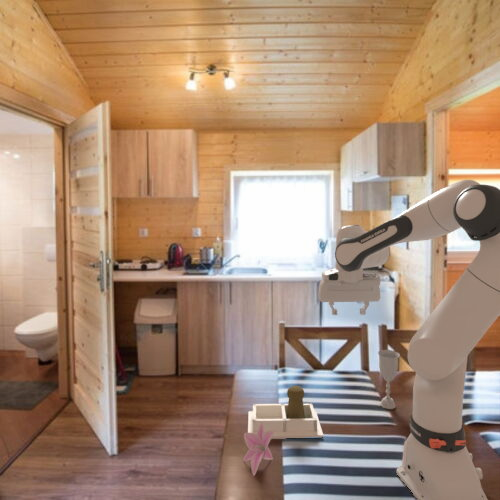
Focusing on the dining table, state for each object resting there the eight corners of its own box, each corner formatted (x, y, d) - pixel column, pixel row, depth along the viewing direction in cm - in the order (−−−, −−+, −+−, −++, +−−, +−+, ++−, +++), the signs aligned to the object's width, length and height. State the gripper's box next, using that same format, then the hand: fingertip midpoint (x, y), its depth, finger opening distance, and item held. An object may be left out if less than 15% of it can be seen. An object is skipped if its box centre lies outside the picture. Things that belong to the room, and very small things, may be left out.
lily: (245, 449, 113) (232, 428, 109) (283, 433, 112) (271, 411, 108) (251, 489, 102) (236, 467, 98) (293, 472, 101) (279, 449, 97)
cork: (305, 417, 125) (305, 383, 124) (306, 427, 119) (306, 392, 118) (286, 416, 126) (285, 383, 124) (285, 426, 120) (285, 392, 118)
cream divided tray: (323, 438, 115) (323, 423, 115) (247, 439, 116) (247, 424, 115) (315, 413, 129) (315, 400, 129) (248, 414, 130) (248, 401, 129)
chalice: (401, 410, 130) (403, 357, 128) (380, 410, 130) (382, 358, 128) (394, 399, 138) (395, 349, 136) (374, 400, 138) (375, 349, 136)
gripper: (377, 271, 135) (376, 311, 136) (317, 272, 135) (317, 312, 136) (383, 275, 129) (382, 316, 130) (320, 275, 129) (320, 317, 130)
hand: (348, 314), depth 133 cm, fingers open, 8 cm apart
